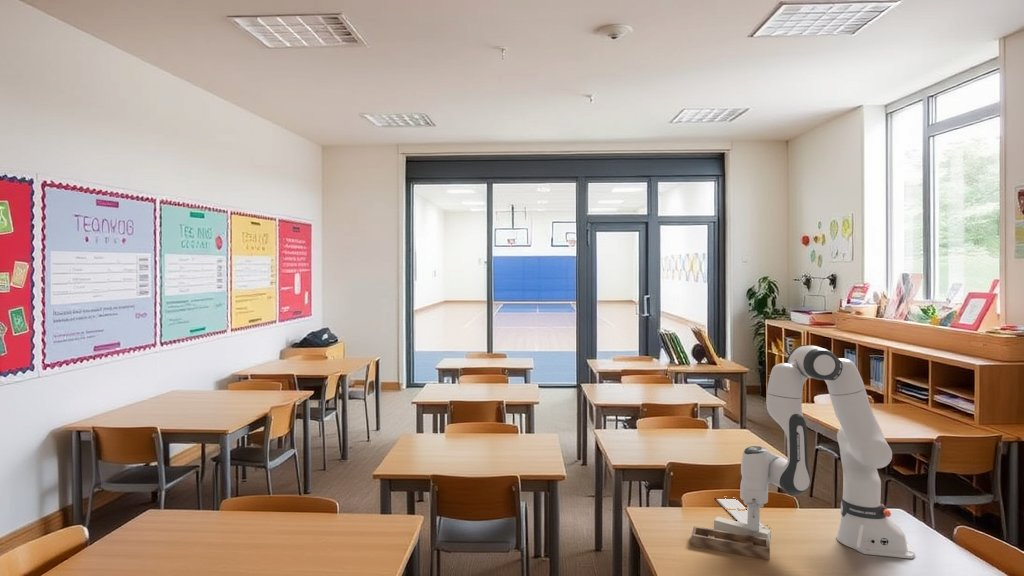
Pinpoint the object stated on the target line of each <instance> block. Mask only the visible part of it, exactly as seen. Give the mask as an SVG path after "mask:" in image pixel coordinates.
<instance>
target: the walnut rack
mask: <svg viewBox="0 0 1024 576" xmlns="http://www.w3.org/2000/svg"><path fill="white" fill-rule="evenodd" d="M690 537H691V538H690V539H691V540H690V541H691V543H690V546H691V547H698V548H704V549H708V550H715V551H719V552H723V553H729V552H730V554H736V555H740V554H741V555H742V556H747V557H750V558H757V559H763V560H767V561H769V560H770V559H771V558H770V556H771V555H770V553H771V549H770V548H771V546H770V545H771V544H770V543H771V542H770V543H769V539H767V538H761V537H755V536H749V535H743V534H737V533H732V532H726V531H720V530H714V528H713V529H712V528H707V527H700V526H695V525H693V528H692V531H691V536H690Z"/></svg>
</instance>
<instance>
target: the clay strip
mask: <svg viewBox="0 0 1024 576" xmlns="http://www.w3.org/2000/svg"><path fill="white" fill-rule="evenodd" d="M713 529H714V530H720V531H726V532H732V533H737V534H743V535H749V536H750V531H748V529H747V524H745V523H741V522H737V521H736V520H733V519H729V518H724V517H721V516H717V517H715V519H713ZM771 536H772V530H771V529H770V530H769V528H767V529H764V528H760V527H759V532H756V537H761V538H767V539H769V543H771V540H772V539H771Z"/></svg>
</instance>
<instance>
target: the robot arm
mask: <svg viewBox="0 0 1024 576" xmlns="http://www.w3.org/2000/svg"><path fill="white" fill-rule="evenodd" d="M808 379H814V380H818V381H824V382H825V384H826V385H827V387H826V388H827V391H828V395H829V398H830V400H831V404H832V408H833V411H834V413H835V417H836V418H837V420H838V421H839V424H840V426H841V427H840V428H839V429H838V431H837V433H836V439H837V443H838V446H839V454H840V461H841V466H842V476H843V477H842V479H843V481H842V482H843V485H842V497H841V501H840V515H841V518H840V524H839V528H838V531H837V534H836V536H835V538H836V540H837V541H838V542H840V544H842V545H844V546H846V547H848V548H851V549H853V550H855V551H857V552H859V553H861V554H864V555H870V556H871V555H872V556H881V557H882V556H883V557H890V558H891V557H892V558H899V559H900V558H902V559H914V558H915V556H916V554H915V550H914V548H913V547H912V545H911V544H910V543H909V542H908V541H907V538H906V534H905V532H904V531H903V529H902V528H901V526H899V525H898V524H897V523H895V522H894V521H893V520H892V519H891V518H890V517H891V516H892V513H891V510H889V509H888V508H887V507H886V505H884V504H883V503H881V495H882V494H881V491H882V489H881V488H882V480H881V478H880V475H879V471H878V469H883V468H885V467H887V466H888V465H889V464H890V462H891V461H892V460H893V451H892V449H891V447H890V445H889V444H888V442H887V439H886V438H885V435H884V433H883V431H882V429H881V427H880V425H879V422H878V420H877V418H876V416H875V415H874V412H873V410H872V407H871V404H870V400H869V397H868V393H867V390H866V387H865V383H864V381H863V378H862V376H861V374H860V371H859V370H858V368H857V366H856V363H854V362H853V361H852V360H851V359H848V358H843V357H841V358H840V357H837V356H836V355H835V354H834V353H833V352H832V351H831V350H828V348H823V347H821V346H818V345H807V344H801V345H798V346H795V347H794V348H792V350H790V352H789V354H788V356H787V357H786V359H785V360H784V362H780V363H777V364H775V365H774V366H773V367H772V369H771V372H770V375H769V378H768V383H767V389H766V398H765V403H766V409H767V412H768V415H770V417H771V418H772V419H773V420H774V421H775V422H776V423H777V424H778V425H779V426H780V427H781V428H782V430H783V432H784V433H785V437H786V440H787V441H786V444H787V447H786V448H787V449H786V450H787V458H785V457H783V456H781V455H779V454H775V453H772V452H771V451H770V450H768V449H767V448H766V447H764V446H759V445H752V446H748V447H746V448H745V449H744V450H743V452H742V456H741V463H740V474H741V481H740V487H739V488H740V489H739V491H740V492H739V497H740V499H741V500H742V501H743V504H744V506H747V510H748V521H747V529H748V531H750V536H755V537H756V532H759V522H761V520H760V517H761V516H760V515H761V511H760V509H761V508H763V507H764V505H765V504H767V503H768V502H769V485H771V484H772V485H774V486H777V487H778V488H780V489H782V490H783V491H785V492H786V493H788V494H789V495H790V496H795V497H797V496H800V495H803V494H804V493H805V492H807V491H808V490H809V488H810V487H811V484H812V474H811V471H810V467H809V466H810V465H809V457H808V456H809V455H808V454H809V451H808V429H807V423H806V420H805V417H804V414H803V407H802V401H803V387H804V385H805V383H806V381H807V380H808Z"/></svg>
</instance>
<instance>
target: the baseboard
mask: <svg viewBox="0 0 1024 576" xmlns="http://www.w3.org/2000/svg"><path fill="white" fill-rule="evenodd" d="M736 499H737V498H736ZM736 499H726V498H725V499H717V500H716V502H717V503H718V504H719V505H720V506H721V507H722V508H723V509H724V508H728V509H729V508H730V509H736V510H728V511H729V512H730V514H731V515H732V516H733V517H734V518H735V519H736V520H737V521H738V522H741V523H745V524H747V521H748V511H747V510H748V509H747V510H745V511H742V510H741V511H738V510H737V508H739V509H745V508H746V507H745V505H743V504H742V503H741V502H740V501H739V500H738V499H737V500H736ZM730 514H729V515H730ZM731 515H730V516H731ZM732 516H731V517H732ZM733 517H732V518H733ZM734 518H733V519H734ZM735 519H734V520H735ZM736 520H735V521H736ZM760 522H761V521H760ZM760 522H759V527H760V528H764V529H766V528H767V527H768V526H769V525H768V524H763V523H762V522H761V523H762V524H763V525H762V524H761V523H760ZM764 526H765V527H766V528H765V527H764ZM769 529H770V530H771V527H770V526H769V527H768V530H769Z"/></svg>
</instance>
